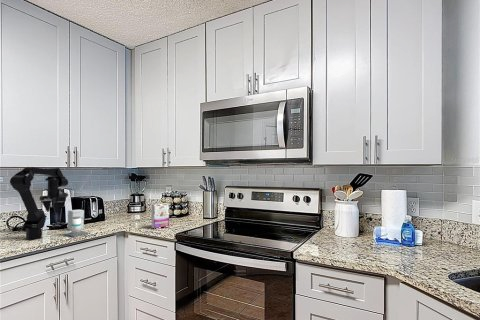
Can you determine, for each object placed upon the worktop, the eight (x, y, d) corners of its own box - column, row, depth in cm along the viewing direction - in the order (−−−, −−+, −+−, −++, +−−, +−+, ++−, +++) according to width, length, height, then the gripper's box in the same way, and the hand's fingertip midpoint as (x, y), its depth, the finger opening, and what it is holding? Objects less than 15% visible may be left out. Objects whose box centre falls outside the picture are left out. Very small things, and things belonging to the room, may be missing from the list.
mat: (73, 237, 161) (73, 235, 161) (64, 235, 165) (64, 233, 165) (88, 234, 169) (88, 232, 169) (79, 232, 173) (79, 230, 173)
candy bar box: (166, 226, 194) (166, 203, 195) (169, 227, 190) (169, 203, 191) (150, 228, 187) (151, 204, 188) (153, 229, 183) (154, 205, 184)
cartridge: (72, 234, 163) (73, 217, 164) (71, 233, 167) (71, 216, 167) (81, 233, 167) (82, 217, 167) (79, 231, 170) (80, 216, 170)
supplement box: (71, 230, 178) (72, 211, 179) (67, 229, 183) (67, 210, 183) (83, 228, 184) (84, 210, 184) (79, 227, 189) (79, 209, 189)
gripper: (74, 187, 176) (73, 211, 175) (57, 186, 184) (57, 209, 184) (56, 188, 166) (55, 214, 165) (39, 187, 174) (38, 211, 174)
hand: (52, 212), depth 172 cm, fingers open, 9 cm apart
